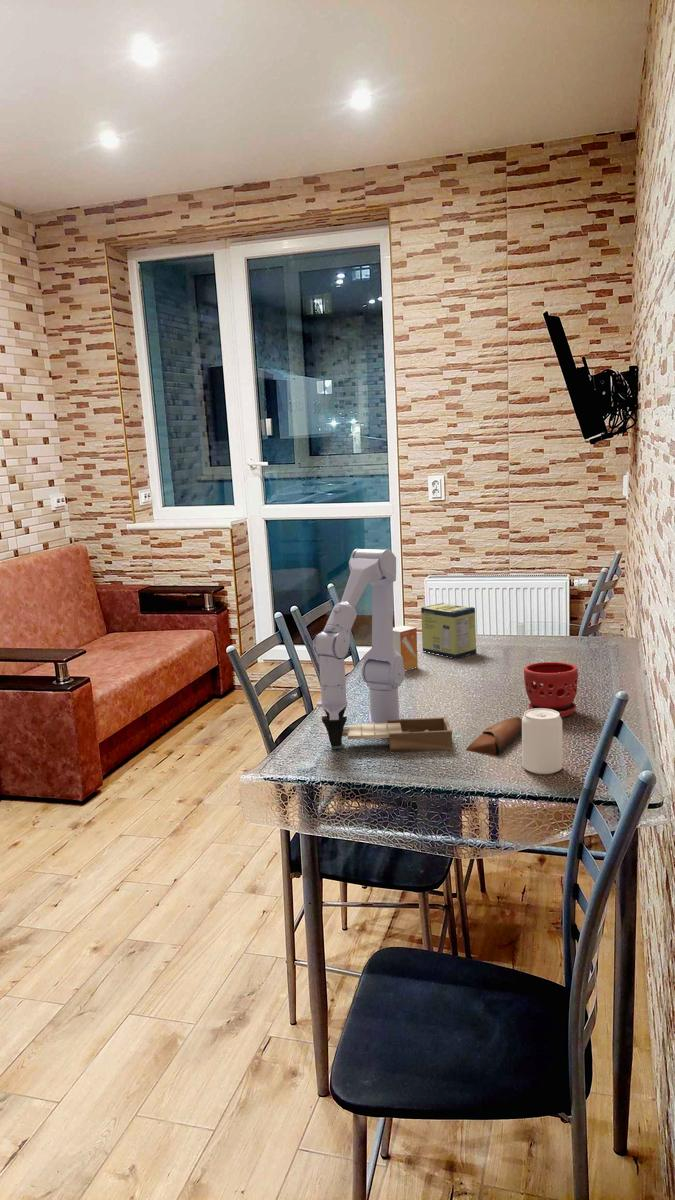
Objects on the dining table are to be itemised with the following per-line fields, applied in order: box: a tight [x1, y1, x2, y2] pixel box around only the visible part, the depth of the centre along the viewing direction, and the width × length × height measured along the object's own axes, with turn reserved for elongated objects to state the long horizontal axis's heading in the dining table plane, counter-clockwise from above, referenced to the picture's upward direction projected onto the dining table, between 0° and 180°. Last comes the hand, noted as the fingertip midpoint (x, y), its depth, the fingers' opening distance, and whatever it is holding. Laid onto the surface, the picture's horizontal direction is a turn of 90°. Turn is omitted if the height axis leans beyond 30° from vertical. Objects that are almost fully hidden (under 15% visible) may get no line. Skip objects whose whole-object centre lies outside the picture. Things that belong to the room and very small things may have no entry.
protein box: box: [420, 602, 477, 659], centre depth 268 cm, size 10×16×16 cm
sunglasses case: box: [465, 716, 522, 757], centre depth 184 cm, size 18×7×7 cm, turn 150°
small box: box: [393, 624, 419, 671], centre depth 250 cm, size 8×6×13 cm
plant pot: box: [523, 661, 579, 718], centre depth 202 cm, size 13×13×12 cm
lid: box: [330, 723, 402, 750], centre depth 185 cm, size 8×16×5 cm, turn 90°
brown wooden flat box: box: [387, 716, 453, 754], centre depth 185 cm, size 10×14×4 cm
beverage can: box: [521, 708, 563, 775], centre depth 166 cm, size 8×8×12 cm
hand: (336, 740), depth 185 cm, fingers open, 7 cm apart
